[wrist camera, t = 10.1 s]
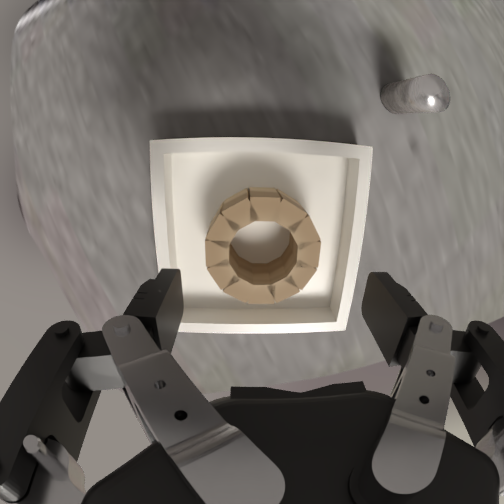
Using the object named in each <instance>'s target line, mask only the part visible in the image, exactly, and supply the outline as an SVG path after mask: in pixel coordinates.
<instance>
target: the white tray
mask: <svg viewBox="0 0 504 504" xmlns="http://www.w3.org/2000/svg"><path fill="white" fill-rule="evenodd" d="M372 152H373V147H369V146H362V145H354V144H345V143H336V142H325V141H314V140H300V139H283V138H255V137H205V138H178V139H161V140H150V172H151V193H152V209H153V222H154V234H155V244H156V254H157V263H158V271H159V272H160V270H161V269H162V268H170V269H180V271H181V279H182V290H183V300H184V311H183V316H182V320H181V323H180V326H179V329H178V332H197V333H302V332H325V331H342V330H345V329H346V325H347V320H348V316H349V311H350V307H351V302H352V297H353V292H354V287H355V282H356V277H357V271H358V266H359V260H360V254H361V248H362V241H363V235H364V228H365V220H366V213H367V205H368V196H369V187H370V176H371V165H372ZM249 187H267V188H275V189H279V190H280V191H282V192H284V193H285V194H287V195H288V196H290V197H292V198H293V199H295V200H296V201H298V202H299V203H300V205H301V206H302V207H303V208H304V210H305V211H306V212H307V213H308V215H309V216H310V218H311V220H312V222H313V224H314V226H315V228H316V231H317V233H318V235H319V237H320V239H321V240H320V241H321V248H320V257H319V265H318V268H317V271H316V272H315V274H314V275H313V276H312V278H311V279H310V280H309V282H308V283H307V284H306V286H305V287H304V288H303V290H300V289H299V290H300V292H299V293H297V294H295V295H293V296H291V297H289V298H287V299H284V300H282V301H280V302H278V303H276V301H275V300H274V304H248V301H247V302H246V303H244V302H242V301H240V300H238V299H236V298H234V297H232V296H230V295H228V294H226V293H224V292H223V289H222V290H220V288H219V287H218V285H217V284H216V282H215V281H214V279H213V278H212V276H211V275H210V273H209V272H208V270H207V267H206V259H205V239H206V235H207V232H208V229H209V226H210V224H211V221H212V220H213V218H214V216H215V214H216V213H217V211H218V209H219V208H220V206H221V204H222V203H223V202H224V201H225V199H227V198H229V197H231V196H233V195H234V194H236V193H238V192H240V191H242V190H244V189H245V188H247V189H248V191H249ZM289 237H290V231H289V230H288V229H286V228H284V227H283V226H281V225H279V224H278V223H276V222H274V221H254V222H253V223H251V224H249V225H247V226H245V227H243V228H241V229H239V230H238V231H237V233H236V235H235V236H234V238H233V239H232V241H231V245H232V246H233V248H234V250H235V251H236V253H237V254H238V256H239V257H241V258H243V259H245V260H247V261H248V262H250V263H269V262H271V261H273V260H275V259H277V258H279V257H281V255H282V254H283V252H284V251H285V249H286V248H287V246H288V245H289Z"/></svg>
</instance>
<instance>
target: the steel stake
mask: <svg viewBox="0 0 504 504" xmlns="http://www.w3.org/2000/svg"><path fill="white" fill-rule="evenodd" d="M381 101H382V104H383V105H384V107H385V108H386V109H387V110H388V111H389V112H391V113H394V114H403V113H425V112H443V111H445V110H446V109H447V108H448V106H449V103H450V92H449V89H448V87H447V85H446V83H445V82H444V80H443V79H442V78H440V77H439V76H437V75H435V74H427V75H422V76H418V77H414V78H410V79H406V80H402V81H398V82H394V83H390V84H387V85H386V86H384V87H383V89H382V91H381Z"/></svg>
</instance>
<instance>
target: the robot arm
mask: <svg viewBox="0 0 504 504" xmlns="http://www.w3.org/2000/svg"><path fill="white" fill-rule="evenodd" d="M183 311H184V300H183V290H182V279H181V271H180V269H170V268H162V269H161V270H160V272H159V274H158V275H157V277H156V279H149V280H148V281H146V282H145V283H143V284H142V285H141V286H140V288H139V289H138V291H137V293H136V294H135V296H134V297H133V299H132V301H131V302H130V304H129V305H128V307H127V309H126V310H125V312H124V314H123V315H121V316H116V317H113V318H111V319H109V320H108V321H107V322H105V324H104V325H103V327H102V331H96V332H86V333H82V332H81V329H80V326H79V324H78V323H76V322H74V321H61V322H58V323H56V324H54V325H52V326H51V327H50V328H49V329H48V330H47V331H46V332H45V334H44V335H43V337H42V338H41V340H40V341H39V342H38V344H37V345H36V347H35V348H34V349H33V351H32V352H31V354H30V355H29V357H28V358H27V360H26V361H25V363H24V365H23V366H22V367H21V369H20V371H19V373H18V374H17V375H16V377H15V379H14V380H13V382H12V383H11V385H10V387H9V388H8V390H7V392H6V394H5V395H4V397H3V398H2V400H1V402H0V499H1V500H2V501H3V502H5V503H6V504H499V496H504V341H503V340H502V339H501V337H500V336H499V335H498V334H497V333H496V331H495V330H494V329H493V328H492V327H491V326H490V325H488V324H486V323H484V322H481V321H471V322H470V323H469V325H468V327H467V329H466V332H464V331H455V330H452V326H451V324H450V323H449V322H448V321H447V320H445V319H443V318H441V317H439V316H436V315H428V314H427V313H426V312H425V311H424V309H423V308H422V307H421V306H420V305H419V303H418V302H417V301H416V300H415V299H414V297H413V296H411V294H410V293H409V292H408V290H407V289H406V288H404V287H403V286H401V285H400V284H398V283H396V282H395V281H394V280H393V278H392V277H391V276H390V275H389V274H388V273H387V272H371V273H370V274H369V276H368V279H367V284H366V288H365V293H364V297H363V301H362V315H363V318H364V320H365V322H366V323H367V325H368V327H369V329H370V331H371V333H372V335H373V336H374V338H375V340H376V342H377V344H378V346H379V348H380V350H381V352H382V354H383V356H384V357H385V359H386V361H387V363H388V365H389V367H390V366H397V365H401V369H400V371H399V374H398V376H397V379H396V382H395V384H394V387H393V389H392V392H391V394H390V396H388V395H385V394H382V393H378V392H374V391H368V390H366V388H365V386H364V383H363V382H362V381H361V382H352V383H342V384H332V385H329V386H325V387H321V388H318V389H314V390H310V391H307V392H302V393H298V392H291V391H285V390H279V389H273V388H267V387H231V394H230V396H229V397H223V398H220V399H216V400H213V401H211V402H208V400H207V399H206V398H205V397H204V396H203V394H202V393H201V392H200V391H199V390H198V388H197V387H196V386H195V385H194V383H193V382H192V381H191V380H190V378H189V377H188V376H187V375H186V373H185V372H184V371H183V370H182V368H181V367H180V366H179V364H178V363H177V362H176V360H175V359H174V358H173V356H172V355H171V351H172V348H173V345H174V342H175V338H176V335H177V332H178V329H179V326H180V323H181V320H182V316H183ZM481 365H482V367H483V368H484V370H485V371H486V373H487V374H488V377H489V385H488V388H487V389H486V391H485V392H484V390H483V388H482V387H481V385H480V384H479V382H478V380H477V379H476V377H475V376H476V374H477V372H478V371H479V369H480V367H481ZM118 388H122V390H123V392H124V394H125V396H126V398H127V400H128V402H129V404H130V406H131V408H132V410H133V412H134V414H135V415H136V418H137V419H138V421H139V423H140V425H141V427H142V429H143V431H144V433H145V435H146V437H147V438H148V440H149V442H150V443H151V445H150V446H148V447H147V448H146V449H144V450H143V451H142V452H140V453H139V454H137V455H136V456H135V457H133V458H132V459H131V460H129V461H128V462H126V463H125V464H124V465H122V466H121V467H119V468H118V469H116V470H115V471H113V472H112V473H110V474H109V475H108V476H106V477H105V478H103V479H102V480H100V481H99V482H97V483H96V484H95V485H93V486H92V487H91V488H90V489H89V490H88V492H87V493H86V491H85V474H84V471H83V469H82V468H81V466H80V465H79V464H78V463H77V460H78V457H79V454H80V450H81V447H82V444H83V441H84V438H85V435H86V432H87V429H88V426H89V423H90V420H91V417H92V415H93V412H94V409H95V406H96V404H97V401H98V398H99V396H100V393H101V390H107V389H118ZM450 397H451V398H452V400H453V402H454V404H455V406H456V408H457V410H458V412H459V415H460V417H461V419H462V421H463V422H464V425H465V427H466V429H467V431H468V434H469V436H470V438H471V440H472V442H473V445H474V447H473V446H471V445H470V444H468V443H466V442H464V441H463V440H461V439H459V438H457V437H456V436H454V435H453V434H451V433H449V432H448V431H446V430H444V425H445V420H446V415H447V410H448V405H449V399H450Z"/></svg>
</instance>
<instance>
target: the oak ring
mask: <svg viewBox="0 0 504 504" xmlns="http://www.w3.org/2000/svg"><path fill="white" fill-rule="evenodd" d="M254 221H274V222H276V223H278V224H279V225H281V226H283V227H284V228H286V229H288V230H289V231H290V237H289V245H288V246H287V248H286V249H285V251H284V252H283V254H282V255H281V257H279V258H277V259H275V260H273V261H271V262H269V263H250V262H248V261H247V260H245V259H243V258H241V257H239V256H238V254H237V253H236V251H235V250H234V248H233V246H232V245H231V241H232V239H233V238H234V236H235V235H236V233H237V231H238V230H239V229H241V228H243V227H245V226H247V225H249V224H251V223H253V222H254ZM320 240H321V239H320V237H319V235H318V233H317V231H316V228H315V226H314V224H313V222H312V220H311V218H310V216H309V215H308V213H307V212H306V211H305V210H304V208H303V207H302V206H301V205H300V203H299V202H298V201H296V200H295V199H293V198H292V197H290V196H288V195H287V194H285V193H284V192H282V191H280V190H279V189H275V188H267V187H249V191H248V189H247V188H245V189H244V190H242V191H240V192H238V193H236V194H234V195H233V196H231V197H229V198H227V199H225V201H224V202H223V203H222V204H221V206H220V208H219V209H218V211H217V213H216V214H215V216H214V218H213V220H212V221H211V224H210V226H209V229H208V232H207V235H206V239H205V259H206V267H207V270H208V272H209V273H210V275H211V276H212V278H213V279H214V281H215V282H216V284H217V285H218V287H219V288H220V290H222V289H223V292H224V293H226V294H228V295H230V296H232V297H234V298H236V299H238V300H240V301H242V302H244V303H246V302H247V301H248V304H274V300H275V301H276V303H278V302H280V301H282V300H284V299H287V298H289V297H291V296H293V295H295V294H297V293H299V292H300V290H303V288H304V287H305V286H306V284H307V283H308V282H309V280H310V279H311V278H312V276H313V275H314V274H315V272H316V271H317V268H318V265H319V257H320V248H321V241H320ZM299 289H300V290H299Z"/></svg>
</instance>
